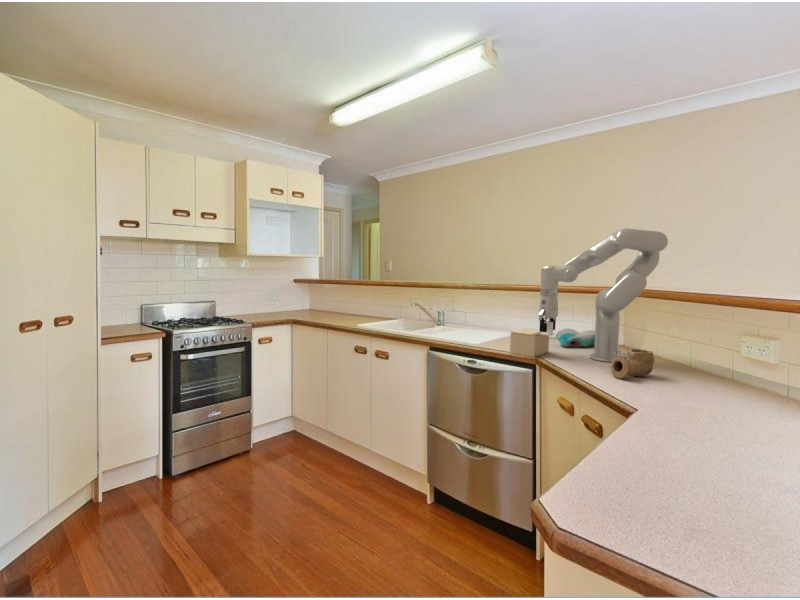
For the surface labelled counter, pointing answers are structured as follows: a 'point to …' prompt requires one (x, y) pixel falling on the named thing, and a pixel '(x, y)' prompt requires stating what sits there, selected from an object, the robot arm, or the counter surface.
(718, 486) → the counter surface
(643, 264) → the robot arm
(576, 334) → the athletic shoe
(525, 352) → the carton
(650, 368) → the pipe
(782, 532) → the counter surface
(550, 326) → the lid flap
